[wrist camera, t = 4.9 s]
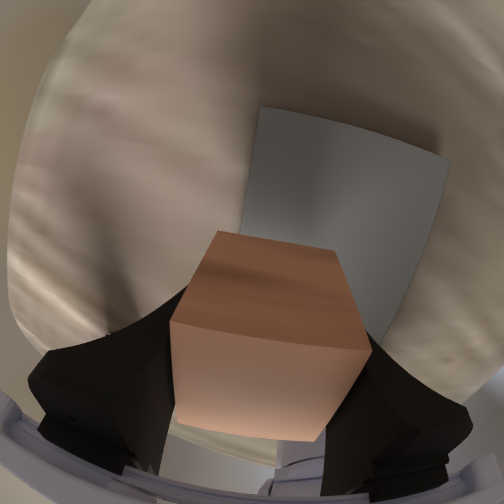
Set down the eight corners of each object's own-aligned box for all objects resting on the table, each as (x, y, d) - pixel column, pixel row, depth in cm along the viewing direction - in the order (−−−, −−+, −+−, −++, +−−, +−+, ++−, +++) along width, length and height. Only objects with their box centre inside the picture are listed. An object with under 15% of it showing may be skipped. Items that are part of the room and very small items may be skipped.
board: (367, 341, 22) (372, 357, 20) (228, 322, 22) (224, 338, 21) (435, 156, 15) (450, 160, 13) (262, 108, 15) (260, 105, 14)
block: (306, 338, 14) (314, 441, 8) (209, 323, 14) (177, 422, 8) (334, 250, 12) (372, 351, 6) (217, 230, 12) (169, 321, 6)
